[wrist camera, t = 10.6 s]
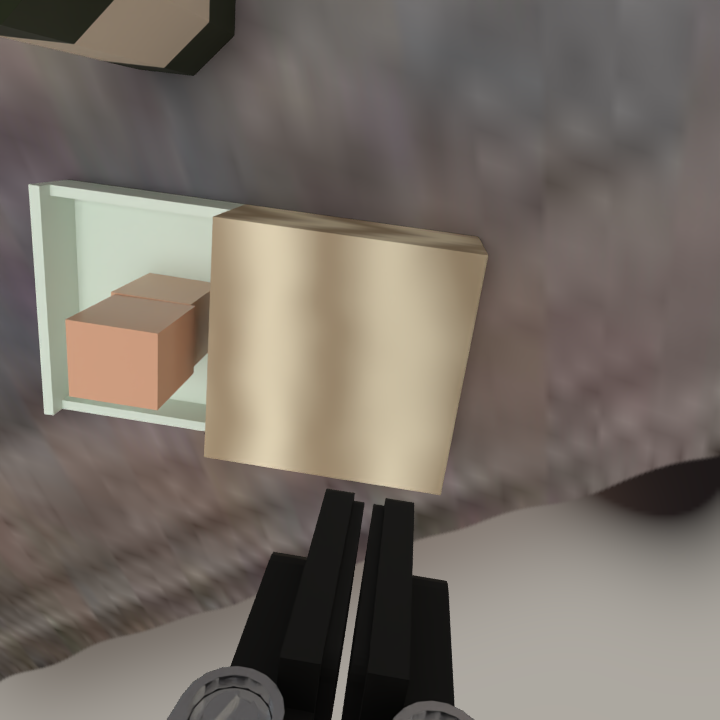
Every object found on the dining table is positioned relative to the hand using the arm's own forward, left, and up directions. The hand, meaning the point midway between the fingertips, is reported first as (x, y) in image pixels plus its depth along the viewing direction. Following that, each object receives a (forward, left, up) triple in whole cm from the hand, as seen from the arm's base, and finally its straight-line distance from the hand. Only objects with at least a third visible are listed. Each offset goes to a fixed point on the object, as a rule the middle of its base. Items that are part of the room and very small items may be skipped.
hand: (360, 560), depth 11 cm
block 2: (+11, +4, -19) cm, 22 cm away
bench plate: (+3, +4, -27) cm, 28 cm away
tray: (+15, +4, -27) cm, 32 cm away
